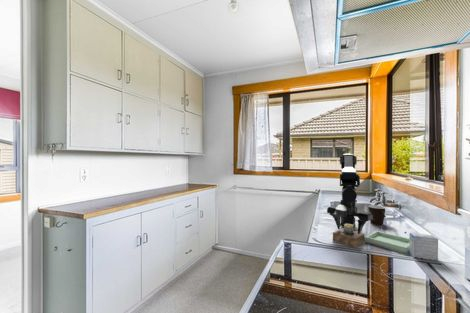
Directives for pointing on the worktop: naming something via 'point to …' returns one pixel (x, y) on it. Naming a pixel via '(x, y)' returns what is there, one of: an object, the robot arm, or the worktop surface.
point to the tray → (388, 241)
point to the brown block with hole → (348, 238)
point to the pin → (348, 229)
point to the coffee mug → (377, 214)
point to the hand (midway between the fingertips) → (348, 231)
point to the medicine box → (423, 246)
